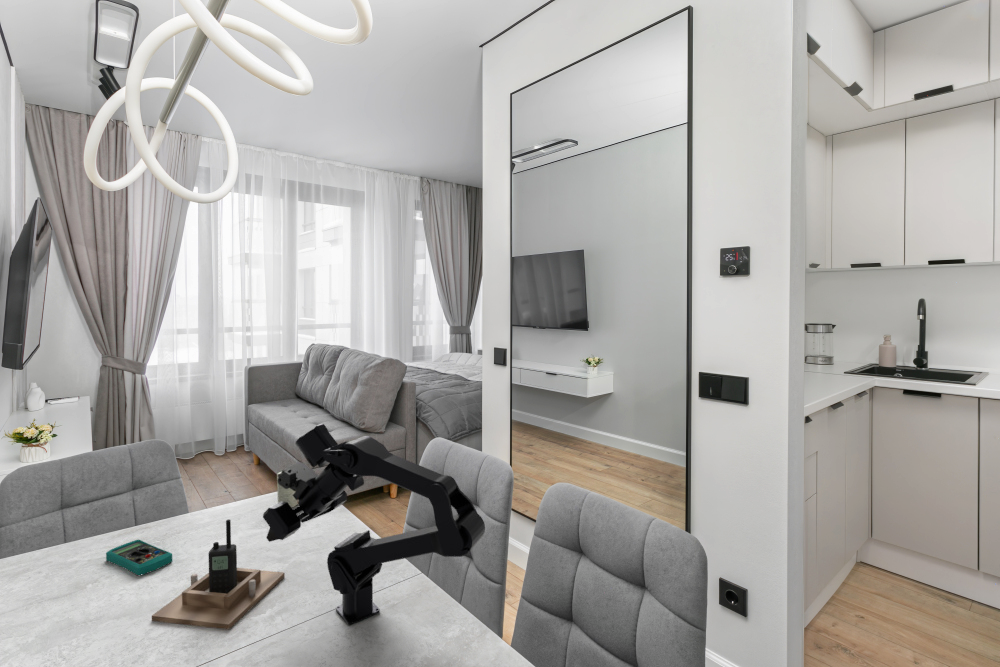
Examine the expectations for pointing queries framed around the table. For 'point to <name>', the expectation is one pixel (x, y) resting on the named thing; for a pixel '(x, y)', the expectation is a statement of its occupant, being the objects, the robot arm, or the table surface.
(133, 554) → the digital multimeter
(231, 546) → the walkie-talkie
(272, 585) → the wooden frame board
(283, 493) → the skincare box
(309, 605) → the table surface
